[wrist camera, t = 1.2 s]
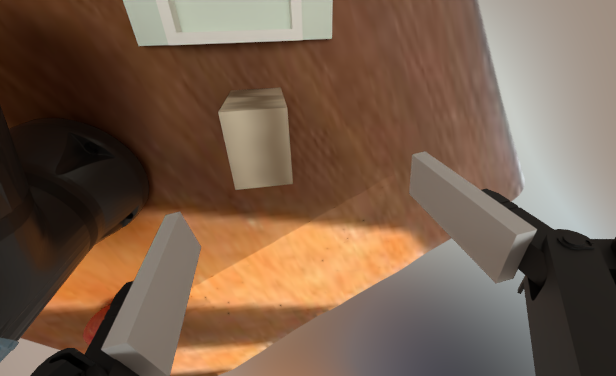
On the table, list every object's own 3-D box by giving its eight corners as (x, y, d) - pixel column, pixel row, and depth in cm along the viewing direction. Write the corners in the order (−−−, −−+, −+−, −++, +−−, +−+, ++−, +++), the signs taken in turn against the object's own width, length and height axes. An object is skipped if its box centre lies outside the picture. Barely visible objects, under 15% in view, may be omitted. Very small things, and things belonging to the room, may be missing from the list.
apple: (151, 313, 49) (133, 358, 42) (112, 320, 48) (88, 367, 41) (134, 290, 45) (112, 336, 38) (92, 298, 44) (61, 345, 37)
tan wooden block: (242, 151, 34) (235, 189, 26) (231, 90, 30) (218, 112, 21) (285, 147, 35) (292, 183, 26) (280, 87, 30) (287, 107, 22)
